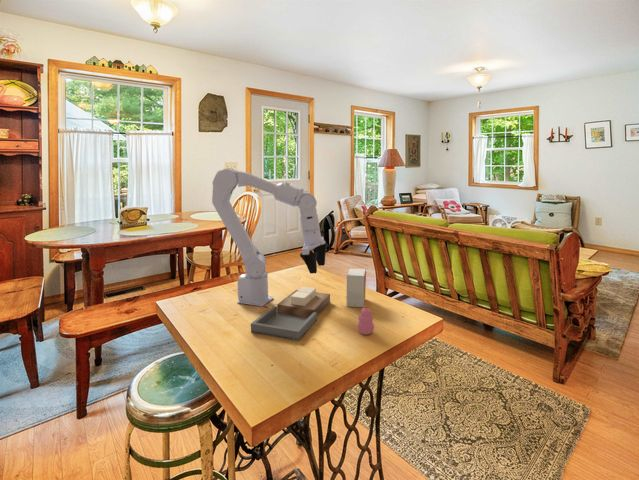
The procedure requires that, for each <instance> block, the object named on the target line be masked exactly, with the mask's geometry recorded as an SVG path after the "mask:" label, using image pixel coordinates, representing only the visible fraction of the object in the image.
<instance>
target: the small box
mask: <svg viewBox="0 0 639 480" xmlns="http://www.w3.org/2000/svg"><path fill="white" fill-rule="evenodd" d="M366 280H367V269H365V268H351V267H350V268H349V269H348V272H347V274H346V307H347V308H348V307H349V308H350V307H353V308H364V307H365V302H366V287H367V284H366V283H367V281H366Z"/></svg>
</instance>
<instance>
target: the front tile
mask: <svg viewBox="0 0 639 480" xmlns="http://www.w3.org/2000/svg"><path fill="white" fill-rule="evenodd" d="M308 302H310V293H305V292H298V291H297V292H296V293H294V294H293V295H292V296H291V304H294V305H301V306H305V305H306V304H307V303H308Z"/></svg>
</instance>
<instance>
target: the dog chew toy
mask: <svg viewBox="0 0 639 480" xmlns="http://www.w3.org/2000/svg"><path fill="white" fill-rule="evenodd" d="M373 321H374V316H373V315H372V310H371V309H370V308H369V307H367V306H364V307H362V308H361V309H360V314H359V315H358V321H357V322H358V323H357V325H356V328H357V330H358V332H359V333H360V334H361V335H370V334H372V333H373V331H374V328H375V325H374V322H373Z"/></svg>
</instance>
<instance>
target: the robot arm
mask: <svg viewBox="0 0 639 480" xmlns="http://www.w3.org/2000/svg"><path fill="white" fill-rule="evenodd" d="M247 186H249V187H252V188H254V189H257V190H260V191H264V192H266V193H269V194H272V196H273V197H274V199H275V200H276V201H279V202H281V203H283V204H286V205H289V206H291V207H298V209H299V214H300V215H299V220H300V226H301V230H302V231H301V232H302V236H303V237H302V238H303V247H302V248H301V252H300V253H299V257H300V258H301V259H302V260H303V261H304V264H305V265H306V267H307V269H308V271H309V274H317V270H318V268H317V265H318V266H320V267H321V266H322V267H323V266H325V264H326V252H327V250H328V249H327V248H328V246H329V244H328V243H327V242H326V240H325V238H324V236H322V234H321V228H320V227H321V226H320V221H319V215H318V213H317V211H318V210H317V205H318V204H317V200H316V197H315V196H314V195H313V194H312V193H311V192H309V191H307V190H306V191H304V190H305V189H304V188H297V187H295V186H292V185H291V184H290V182H287V181H286V182H280V183H278V184H276V183H273V182H271V181H268V180H266V179H263V178H261V177H258V176H256V175H254V174H251V173H249V172H246V171H242V170H238V169H237V170H235V169H234V168H231V167H230V168H222V169H220V170H217V172H216V174H215V176H214V177H213V180H212V194H211V195H212V197H211V201H212V202H211V203H212V205H213V207H214V209H215V211H216V212H217V214H218V216H219V218H220V220H221V221H222V223H223V224H224V227H225V229H226V230H227V232H228V234H229V235H230V237H231V239H232V240H233V242H234V244H235V246H236V248H237V249H238V251H239V253H240V256H241V260H242V262H243V264H244V269H245V270H244V271H245V273H242V274H241V275H239V276H238V279H237V298H238V299H237V300H236V302H237V304H243V305H250V306H257V307H263V306H265V305H266V304H268V303H269V302H270V301H271V300H273V299H274V297H273V296H270V295H269V281H268V280H269V279H268V277H269V276H268V272H267V271H266V264H267V258H266V256H265V255H264V254H263V253H261V252H260V251H259V249H258V248H257V246H256V245H255V244H254V243H253V241H252V239H251V238H250V236H249V234H248V232H247V229H246V228H245V227H244V225H243V223H242V221H241V220H240V218H239V216H238V214H237V212H236V211H235V210H236V209H234V207H233V205H232V203H231V201H230V200H231V198H232V195H233V192H234V190H235V189H236V188H237V187H239V188H241V187H247Z"/></svg>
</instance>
